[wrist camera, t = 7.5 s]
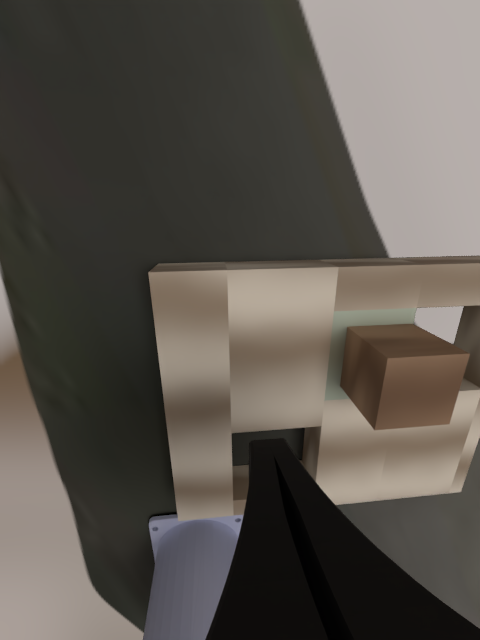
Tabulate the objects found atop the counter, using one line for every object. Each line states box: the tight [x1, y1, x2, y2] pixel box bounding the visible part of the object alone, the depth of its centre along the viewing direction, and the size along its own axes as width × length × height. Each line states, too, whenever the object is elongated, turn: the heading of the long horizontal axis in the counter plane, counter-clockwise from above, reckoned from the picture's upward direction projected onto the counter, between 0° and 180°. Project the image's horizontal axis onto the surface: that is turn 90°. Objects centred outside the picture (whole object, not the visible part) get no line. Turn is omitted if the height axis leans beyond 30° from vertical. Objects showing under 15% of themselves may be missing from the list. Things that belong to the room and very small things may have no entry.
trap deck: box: [148, 256, 480, 521], centre depth 20 cm, size 18×22×3 cm
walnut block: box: [340, 324, 470, 430], centre depth 15 cm, size 4×4×4 cm
